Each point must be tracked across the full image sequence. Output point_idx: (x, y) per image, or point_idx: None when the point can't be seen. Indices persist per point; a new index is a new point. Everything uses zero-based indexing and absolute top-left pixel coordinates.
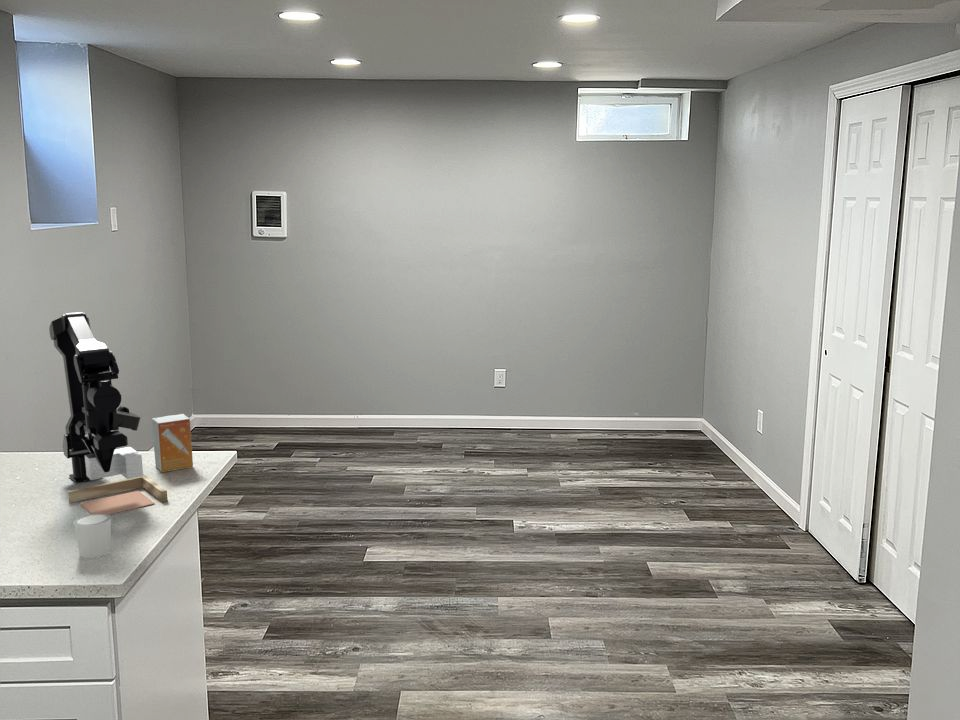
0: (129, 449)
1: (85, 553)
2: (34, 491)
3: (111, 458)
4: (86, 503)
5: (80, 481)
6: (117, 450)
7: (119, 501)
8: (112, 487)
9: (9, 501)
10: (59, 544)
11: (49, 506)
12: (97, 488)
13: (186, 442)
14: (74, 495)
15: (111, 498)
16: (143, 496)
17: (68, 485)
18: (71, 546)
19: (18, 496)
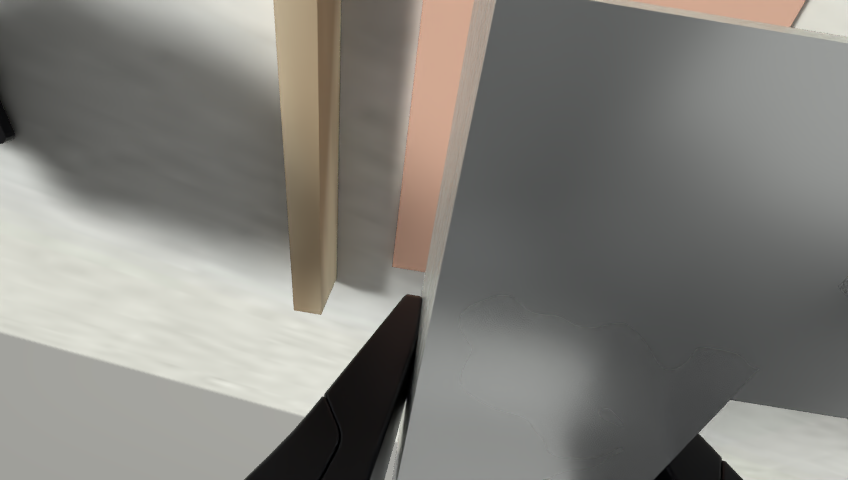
0: (769, 159)
1: None
2: (83, 298)
3: (717, 464)
4: (419, 253)
5: (4, 117)
6: (534, 344)
7: None
8: (328, 85)
9: (174, 378)
10: (730, 447)
11: (323, 335)
12: (323, 183)
13: None
14: (326, 282)
15: (445, 138)
16: None
17: (42, 177)
18: (790, 440)
19: (127, 347)
